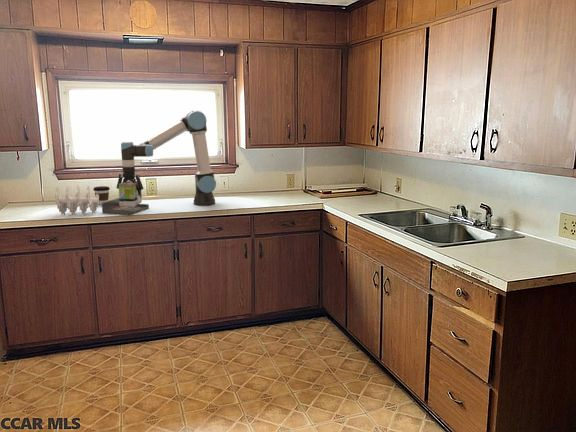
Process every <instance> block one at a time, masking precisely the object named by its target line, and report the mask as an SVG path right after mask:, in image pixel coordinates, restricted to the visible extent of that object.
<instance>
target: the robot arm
mask: <svg viewBox="0 0 576 432" xmlns="http://www.w3.org/2000/svg"><path fill="white" fill-rule="evenodd" d="M185 132H188V133H189V134H190V135H191V137H192V143H193V149H194V154H195V162H196V167H197V171H196V172H194V178H195V179H194V180H195V194H194V199H193V205H195V206H212V205H215V204H216V198H215V197H214V194H213V191H215V189H216V187H217V181H216V179H215V174H214V170H213V169H212V168H211V163H210V157H209V156H210V155H209V149H208V143H207V138H206V137H207V136H206V133H207V132H208V129H207V117H206V115H205V113H203V112H202V111H201V110H191V111H189V112H188V113H187V114H186V115H184V116H183V117H182V118H180V119H179V121H177V122H176V123H174V124H173V125H171V126H169V127H167V128H166V129H164V130H163V131H160V132H159V133H157V134H155V135H154V136H152V137H150V138H148V139H147V140H145V141H143V142H142V143H139V144H134V142H132V141H122V142H121V143H120V153H121V166H122V167H121V169H122V173H119V174H118V181H117V185H116V187H115V188H116V189H118V190H119V184H120V183H123V182H127V181H131V182H133V183H137V184H136V189H137V191H136V193H137V201H139V200H140V195H142V190H144V186H143V184H142V181H141V178H140V177H141V176H140V174H136V173H135V172H136V168H135V158H138V157H139V158H140V157H141V158H143V157H146V158H147V157H148V158H149V157H153V156H154V150H156V149H157V148H159V147H161V146H163V145H165V144H166V143H168V142H169V141H171V140H173V139H175V138H176V137H179V136H181V135H182V134H183V133H185ZM136 181H137V182H136Z"/></svg>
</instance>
